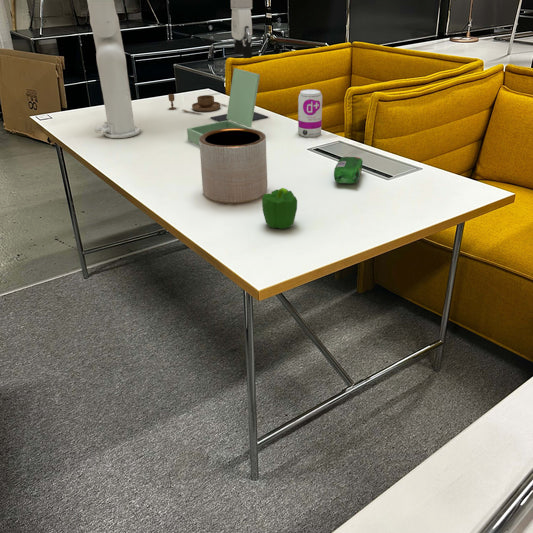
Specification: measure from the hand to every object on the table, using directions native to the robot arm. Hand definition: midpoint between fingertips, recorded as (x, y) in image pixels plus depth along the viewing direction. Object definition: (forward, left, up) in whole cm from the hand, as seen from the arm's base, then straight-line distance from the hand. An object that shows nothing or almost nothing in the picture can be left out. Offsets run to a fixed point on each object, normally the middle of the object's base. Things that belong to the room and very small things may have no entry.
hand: (243, 56), depth 202 cm
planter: (-42, -57, -25) cm, 75 cm away
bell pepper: (-45, -81, -25) cm, 96 cm away
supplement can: (+9, -28, -25) cm, 38 cm away
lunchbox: (-21, -15, -24) cm, 36 cm away
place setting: (-2, +32, -25) cm, 41 cm away
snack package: (-11, -69, -25) cm, 74 cm away
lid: (-11, -15, -11) cm, 21 cm away
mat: (+2, +7, -24) cm, 26 cm away
